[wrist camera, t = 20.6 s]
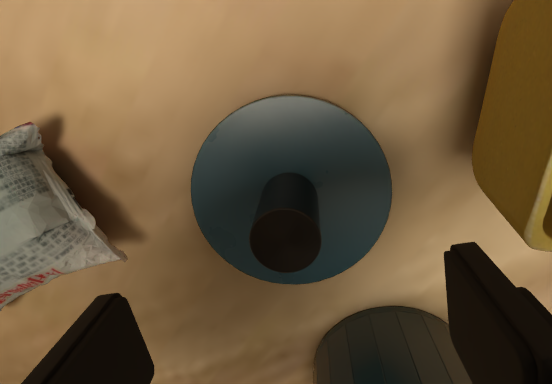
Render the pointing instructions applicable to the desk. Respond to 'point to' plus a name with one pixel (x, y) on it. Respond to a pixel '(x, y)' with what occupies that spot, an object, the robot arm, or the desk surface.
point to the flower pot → (519, 124)
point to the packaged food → (41, 220)
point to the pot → (389, 350)
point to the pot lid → (291, 189)
